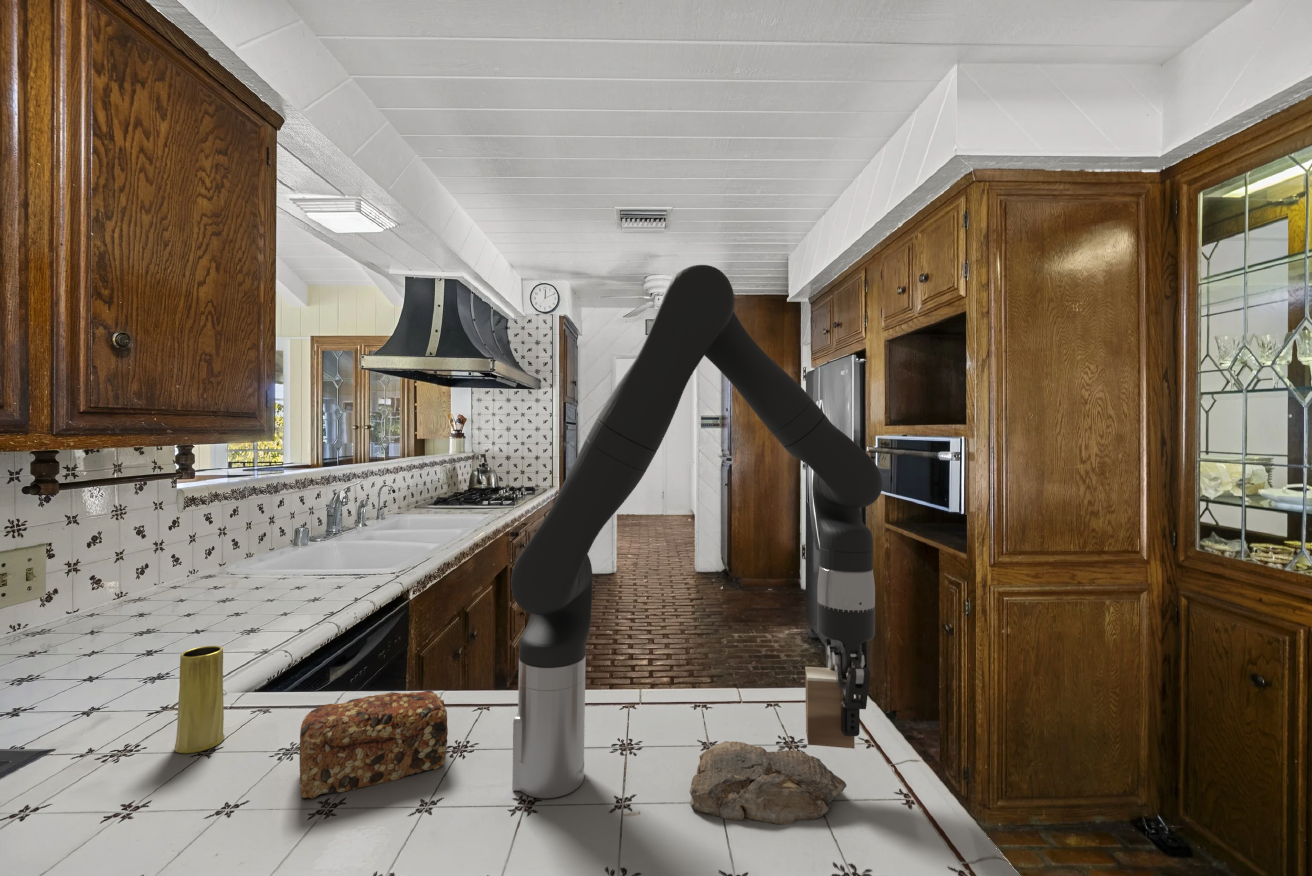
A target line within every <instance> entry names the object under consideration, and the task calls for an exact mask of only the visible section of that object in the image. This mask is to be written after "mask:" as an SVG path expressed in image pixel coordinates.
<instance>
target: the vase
mask: <svg viewBox="0 0 1312 876" xmlns="http://www.w3.org/2000/svg"><path fill="white" fill-rule="evenodd" d="M179 658H180V659H179V660H180V662H179V690H178V702H177V703H178V704H177V706H178V707H177V722H176V724H177V727H176V736H175V737H176V738H175V744H174V751H175V752H176V753H177V754H178V753H179V754H186V755H187V754H195V753H201V752H205V751H207V750H209V749H210V750H211V749H212V748H214V746H215V747H216V746H218V745H220V744H221V743H222V742H223V741H224V739H225V734H224V720H225V719H224V717H225V716H224V715H225V714H224V713H225V712H224V711H225V710H224V708H225V707H224V649H223V647H222V646H221V645H205V646H199V647H194V648H190V649H188V650H187V649H186V650H185V651H183V652H182V653H181V654H180V657H179Z"/></svg>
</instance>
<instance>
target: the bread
mask: <svg viewBox="0 0 1312 876" xmlns="http://www.w3.org/2000/svg"><path fill="white" fill-rule="evenodd" d="M300 725H301V726H300V730H299V731H300V732H299V786H300V793H301V794H300V795H301V796H300V797H301V799H307V798H309V799H312V800H313V799H316V797H318V796H319V795H322V794H327V793H328V794H330V793H331V794H332V793H336V792H337V793H342V792H347V791H350V790H353V791H355V790H357V789H360V788H364V787H369V786H373V785H374V786H375V785H379V784H384V783H388V782H392V781H396V780H397V781H398V780H401V779H402V778H405V777H407V776H412V775H413V774H420V773H421V772H423V771H430V770H437V769H439V768H441V767H442V766H444V764H445V763H446V754H448V753H447V751H448V748H447V746H448V733H449V731H448V729H449V728H448V711H447V709H446V707H445V700H444V699H441V697H440V696H438V694H437V693H436V692H435V693H434V691H433V690H424V691H418V692H415V691H411V692H395V691H391V692H387V693H386V692H384V693H381V694H374V695H368V696H365V697H359V698H358V697H357V698H353V699H349V700H348V701H346V702H341V703H326V704H322V705H321V706H320V707H316V708H314V709H312V710H311V711H310V712H308V714H306V715H305V717H304V718H303V719H302V723H301V724H300ZM400 778H401V779H400Z"/></svg>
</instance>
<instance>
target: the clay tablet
mask: <svg viewBox="0 0 1312 876" xmlns="http://www.w3.org/2000/svg"><path fill="white" fill-rule="evenodd" d="M846 788H847V783H846V782H845V781H844V780H843V779H842V778H841V777H840V776H838V775H836V774H834V773H833V771H831V770H830V769H828V767H827V766H826V765H825V764H824V763H823V762H822V761H821V759H819V758H818V757H815V756H813V755H809V754H808V753H805V752H802V751H798V750H795V749H792V750H787V749H785V750H777V751H776V750H775V751H767V750H766V749H765V748H764V747H762V746H756V745H753V744H748V743H746V742H741V741H727V740H726V741H725V740H724V741H723V742H720V743H717V744H713V745H712V746H710V747H709V748H708V749H706V750H705V751H704V752H702V754H700V755H699V764H698V766H697V770H696V774H694V776H693V777H692V780H691V782H690V789H689V791H688V792H689V794H690V796H691V799H690V802H689V803H690V804H689V805H690V807H691V809H692V810H694V811H696V812H698V813H700V814H701V813H707V814H710V815H713V816H715V817H720V818H721V819H727V820H728V819H730V820H734V821H742V820H744V818H745V817H747V818H748V819H750V820H754V821H759V822H765V823H772V824H775V825H785V824H794V822H795V821H800V820H803V821H812V820H814V819H818V818H821V817H823V816H824V815H825V814H826V813H827V812H828V811H829V810H830V809H831V807H832V804H830V803H831V802H832V801H833V800H834V799H835V798H836V797H838V796H840V794H841V793H843V792H844V790H845V789H846Z"/></svg>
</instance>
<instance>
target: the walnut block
mask: <svg viewBox="0 0 1312 876" xmlns="http://www.w3.org/2000/svg"><path fill="white" fill-rule="evenodd" d="M804 668H805V670H804V671H805V733H806V740H807V745H808V746H818V747H829V748H830V747H831V748H843V749H854V750H855V748H856V746H855V741H856V740H855V736H844V735H843V733H842V731H841V694H840V688H838V687H837V685H836V676H835V668H834V670H830V669H829V668H827V667H818V666H817V667H816V666H804ZM842 681H843V682H847V679H842ZM852 698H855V695H853V696H852Z"/></svg>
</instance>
